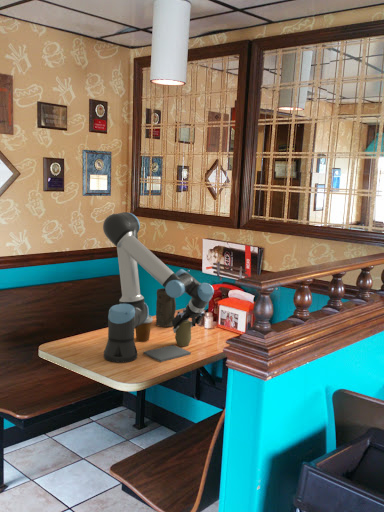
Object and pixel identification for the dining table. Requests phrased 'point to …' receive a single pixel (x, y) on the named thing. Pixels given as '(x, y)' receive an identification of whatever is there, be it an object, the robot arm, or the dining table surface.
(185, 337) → the squeeze bottle
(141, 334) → the disposable coffee cup
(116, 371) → the dining table surface
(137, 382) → the dining table surface
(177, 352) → the rubber mat
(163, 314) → the dark brown bag
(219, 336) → the dining table surface
